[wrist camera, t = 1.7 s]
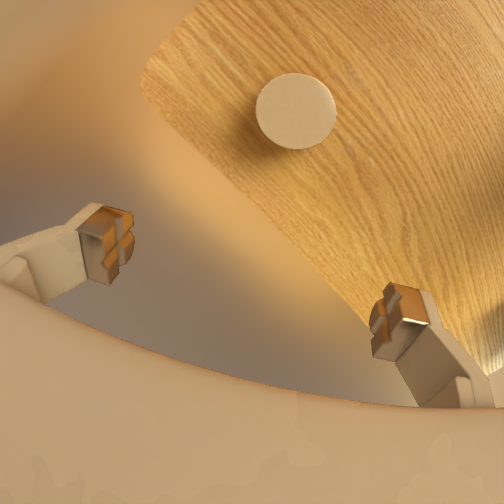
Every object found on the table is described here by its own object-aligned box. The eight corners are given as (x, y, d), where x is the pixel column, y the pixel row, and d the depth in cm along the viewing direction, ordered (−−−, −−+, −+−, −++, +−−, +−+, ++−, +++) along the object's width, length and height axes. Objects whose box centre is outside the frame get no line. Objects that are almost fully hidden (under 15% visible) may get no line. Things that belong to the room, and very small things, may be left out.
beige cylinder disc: (259, 74, 18) (251, 75, 15) (331, 72, 17) (335, 72, 14) (265, 139, 20) (258, 150, 18) (334, 139, 19) (337, 150, 17)
